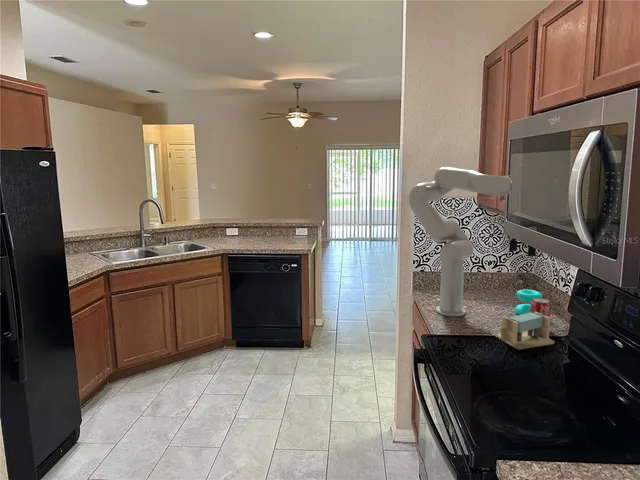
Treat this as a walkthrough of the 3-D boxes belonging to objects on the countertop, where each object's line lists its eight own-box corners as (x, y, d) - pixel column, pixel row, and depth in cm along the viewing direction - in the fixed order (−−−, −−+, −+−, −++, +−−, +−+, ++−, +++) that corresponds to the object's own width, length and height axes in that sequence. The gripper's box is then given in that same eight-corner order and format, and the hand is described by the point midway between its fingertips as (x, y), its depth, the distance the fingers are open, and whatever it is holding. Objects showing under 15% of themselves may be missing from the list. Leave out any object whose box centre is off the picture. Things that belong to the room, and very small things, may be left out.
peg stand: (495, 336, 166) (497, 314, 165) (529, 331, 171) (531, 309, 169) (518, 349, 155) (520, 325, 153) (554, 343, 160) (556, 320, 158)
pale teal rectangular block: (530, 322, 167) (531, 312, 166) (542, 326, 163) (542, 316, 162) (507, 327, 162) (508, 317, 161) (519, 332, 157) (520, 322, 157)
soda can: (551, 329, 173) (553, 300, 171) (544, 334, 169) (547, 304, 166) (532, 324, 178) (535, 296, 176) (525, 329, 174) (528, 300, 171)
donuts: (512, 291, 189) (522, 287, 195) (511, 314, 190) (520, 308, 197) (537, 297, 182) (545, 291, 188) (535, 319, 183) (543, 313, 190)
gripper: (501, 207, 173) (498, 249, 177) (535, 212, 157) (531, 259, 160) (516, 206, 176) (513, 248, 179) (551, 211, 159) (547, 257, 163)
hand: (521, 253), depth 170 cm, fingers open, 9 cm apart
